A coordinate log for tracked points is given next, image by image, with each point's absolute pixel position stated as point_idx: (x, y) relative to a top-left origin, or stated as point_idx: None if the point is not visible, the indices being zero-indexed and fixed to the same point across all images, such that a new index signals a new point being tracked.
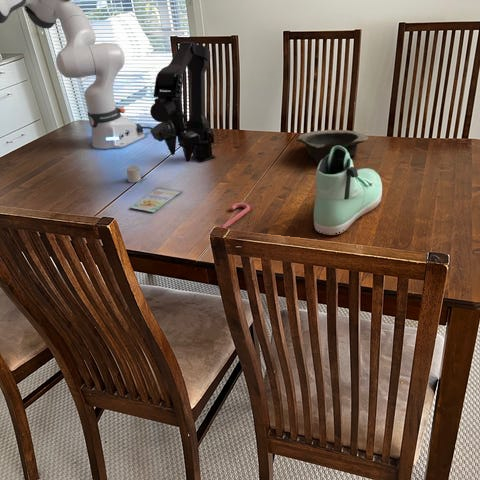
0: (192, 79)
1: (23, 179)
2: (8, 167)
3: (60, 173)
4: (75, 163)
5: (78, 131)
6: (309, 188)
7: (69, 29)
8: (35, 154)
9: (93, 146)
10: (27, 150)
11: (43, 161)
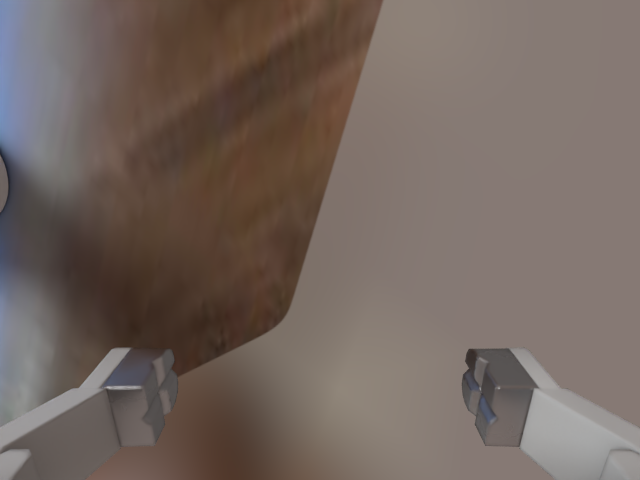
0: None
1: (296, 67)
2: (302, 225)
3: (173, 6)
4: (101, 65)
5: (29, 366)
6: None
7: None
8: (200, 271)
9: (3, 170)
10: (212, 325)
11: (194, 185)
